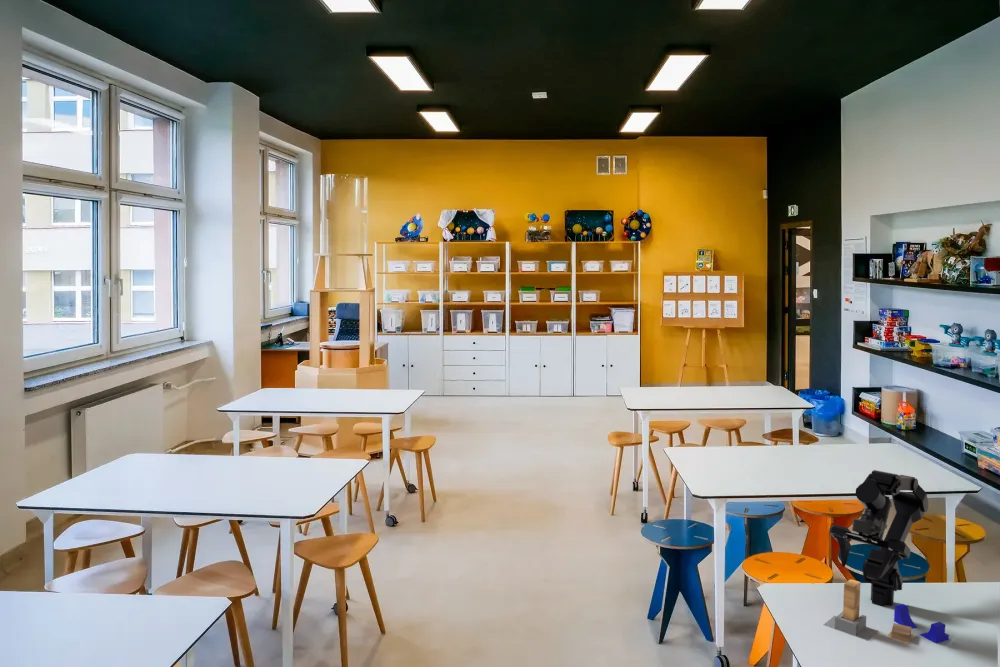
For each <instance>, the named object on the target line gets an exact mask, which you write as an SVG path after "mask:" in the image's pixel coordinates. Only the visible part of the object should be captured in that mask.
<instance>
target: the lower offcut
mask: <svg viewBox="0 0 1000 667" xmlns="http://www.w3.org/2000/svg"><path fill="white" fill-rule="evenodd" d="M891 633H892V630H891V631H890V632H889V633H888V634H887V635H886V637H887V638H890V639H893V640H896V641H898V642H900V643H905V644H907V645H908V644H909V643H910V642H912V640H913V639H914V638H915V637H916V636H917V635H916V634H914V633H911V637H910V642H907V641H903V640H899V639H894V638H891Z"/></svg>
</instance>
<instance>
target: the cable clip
mask: <svg viewBox="0 0 1000 667" xmlns="http://www.w3.org/2000/svg"><path fill="white" fill-rule="evenodd" d="M893 616H894V617H893V622H894V623H896V624H900V625H904V626H908V627H912V628H911V630H913V629H917V628H919V627H918V626H917V624H915V623H914V621H913V619H912V618H911V614H910V610H909V605H907V604H904V603H900V604H897V605H894V614H893ZM919 636H921V637H923V638H925V639H927V640H928V641H931V642H933V643H934V644H939V643H943V642H946V641H949V639H950V635H949V634H948V633H946V624H945V623H943V622H941V621H938V622H933V623H931V624H930V628H929V630H928V631H927V632H923V633H919Z"/></svg>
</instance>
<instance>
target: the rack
mask: <svg viewBox="0 0 1000 667" xmlns="http://www.w3.org/2000/svg"><path fill="white" fill-rule="evenodd" d="M823 626H825V627H828V628H831V629H834V630H837V631H839V632H843V633H845V634H848V635H851V636H854V637H857V638H859V639H861V640H865V641H869V640H870V639H871V638H872V637H873V636H875V634H876V633H878V632H879V630H878V629H874V628H871V627H869V626H867V615H865V614H861V615H859V618H858V619H857V620H855V621H854V622H852V621H849V620H846V619H843V611H841V612H840V613H839V614H838V615H833V616H832V617H831V618H830V619H828V620H827V621H826V622H824V623H823Z"/></svg>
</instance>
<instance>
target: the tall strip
mask: <svg viewBox="0 0 1000 667" xmlns="http://www.w3.org/2000/svg"><path fill="white" fill-rule="evenodd" d="M861 583H862V582H860V581H858V580H854V579H851V578H850V579H849V580H847V581H846V582H845V583H843V586H844V587H843V602H842V603H843V605H842V612H843V619H846V620H849V621H852V622H854V621H855V620H857V619H858V618H859V617H860V606H861V605H860V602H861V601H860V600H861Z"/></svg>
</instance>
